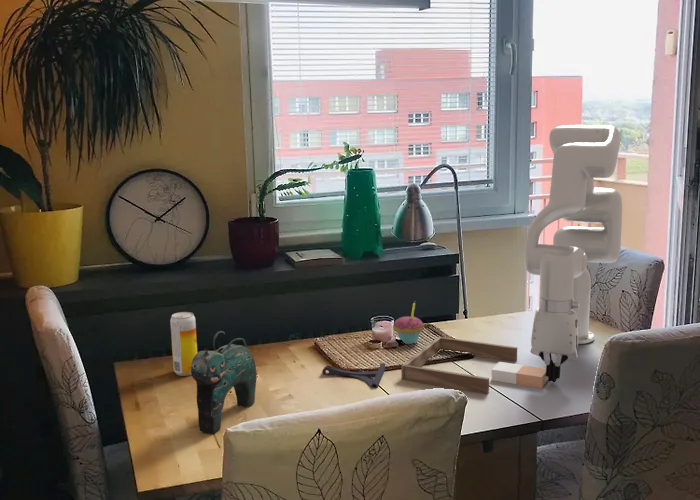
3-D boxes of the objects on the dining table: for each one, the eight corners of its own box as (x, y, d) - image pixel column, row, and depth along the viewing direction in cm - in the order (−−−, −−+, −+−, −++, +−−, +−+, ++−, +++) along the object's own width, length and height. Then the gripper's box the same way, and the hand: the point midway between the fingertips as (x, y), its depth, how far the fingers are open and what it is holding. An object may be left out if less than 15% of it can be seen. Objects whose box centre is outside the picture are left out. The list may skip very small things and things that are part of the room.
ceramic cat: (213, 439, 152) (208, 344, 148) (186, 433, 154) (180, 340, 151) (262, 402, 170) (259, 317, 166) (238, 398, 172) (234, 314, 168)
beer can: (203, 369, 191) (199, 312, 188) (188, 378, 186) (184, 319, 183) (183, 366, 194) (180, 310, 191) (168, 374, 188) (164, 316, 185)
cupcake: (428, 339, 212) (429, 298, 210) (414, 348, 205) (415, 305, 203) (402, 335, 217) (402, 294, 214) (387, 343, 210) (387, 301, 207)
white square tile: (498, 373, 186) (499, 361, 186) (522, 376, 184) (523, 365, 183) (491, 381, 181) (491, 369, 180) (516, 385, 178) (516, 373, 178)
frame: (438, 348, 204) (438, 336, 203) (517, 360, 194) (517, 347, 193) (401, 379, 182) (401, 365, 182) (487, 394, 172) (487, 379, 172)
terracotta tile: (523, 376, 184) (523, 365, 183) (547, 380, 181) (548, 368, 180) (516, 385, 178) (516, 373, 178) (541, 389, 176) (541, 377, 175)
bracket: (328, 366, 194) (328, 356, 193) (386, 369, 191) (386, 358, 191) (316, 387, 180) (316, 376, 180) (377, 390, 177) (377, 379, 177)
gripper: (592, 304, 174) (588, 379, 177) (527, 297, 181) (525, 370, 184) (586, 312, 167) (582, 390, 171) (519, 305, 174) (517, 380, 178)
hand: (552, 380), depth 177 cm, fingers closed
